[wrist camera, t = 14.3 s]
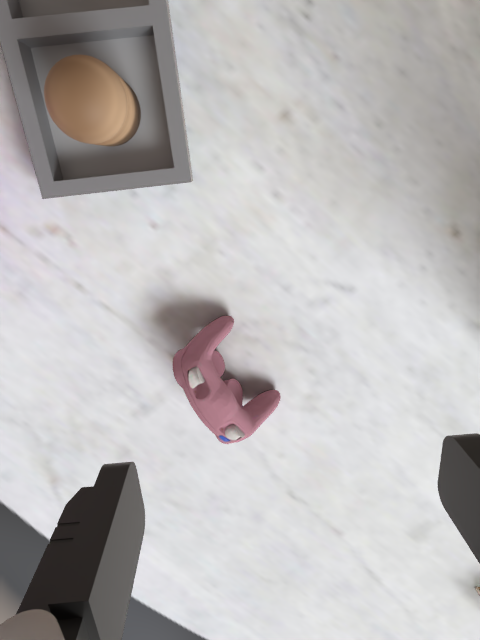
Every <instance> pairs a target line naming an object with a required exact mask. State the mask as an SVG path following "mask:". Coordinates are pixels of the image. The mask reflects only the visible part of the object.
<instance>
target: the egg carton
mask: <svg viewBox="0 0 480 640" xmlns="http://www.w3.org/2000/svg"><path fill="white" fill-rule="evenodd" d="M0 43H1V47H2V51H3V54H4V58H5V62H6V66H7V69H8V73H9V77H10V80H11V84H12V88H13V91H14V95H15V99H16V102H17V106H18V110H19V114H20V117H21V121H22V125H23V128H24V132H25V136H26V139H27V143H28V147H29V150H30V154H31V158H32V162H33V165H34V169H35V173H36V176H37V180H38V184H39V187H40V191H41V195H42V199H46V198H55V197H64V196H72V195H81V194H90V193H99V192H108V191H117V190H125V189H134V188H143V187H152V186H161V185H169V184H178V183H187V182H192V181H193V177H192V170H191V163H190V155H189V148H188V141H187V134H186V126H185V119H184V112H183V105H182V98H181V90H180V83H179V76H178V69H177V62H176V54H175V47H174V40H173V33H172V26H171V18H170V11H169V4H168V0H0ZM71 55H88V56H92V57H94V58H97V59H99V60H101V61H102V62H104V63H105V64H107V65H108V66H109V67H110V68H111V69H112V70H114V71H115V72H116V73H117V74H118V75H119V76H120V77H121V78H122V79H123V80H124V81H125V82H126V83H127V84H128V85H129V86H130V87H131V88H132V89H133V91H134V92H135V94H136V96H137V98H138V101H139V104H140V108H141V120H140V125H139V128H138V130H137V132H136V134H135V135H134V136H133V137H132V138H131V139H130V140H129V141H128V142H126V143H124V144H122V145H119V146H111V147H110V146H102V145H95V144H87V143H83V142H79V141H77V140H74V139H72V138H71V137H69V136H67V135H66V134H65V133H64V132H62V131H61V130H60V129H59V128H58V127H57V125H56V124H55V123H54V121H53V120H52V118H51V117H50V115H49V112H48V110H47V107H46V104H45V99H44V85H45V80H46V77H47V75H48V73H49V71H50V70H51V68H52V67H53V66H54V65H55V64H56V63H57V62H58V61H59V60H61V59H63V58H65V57H67V56H71Z"/></svg>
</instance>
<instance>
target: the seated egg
mask: <svg viewBox="0 0 480 640" xmlns="http://www.w3.org/2000/svg"><path fill="white" fill-rule="evenodd" d="M44 99H45V104H46V107H47V110H48V112H49V115H50V117H51V118H52V120H53V121H54V123H55V124H56V125H57V127H58V128H59V129H60V130H61V131H62V132H64V133H65V134H66V135H67V136H69V137H71V138H72V139H74V140H77V141H79V142H83V143H87V144H95V145H102V146H110V147H111V146H119V145H122V144H124V143H126V142H128V141H129V140H130V139H131V138H132V137H133V136H134V135H135V134H136V132H137V130H138V128H139V125H140V120H141V108H140V104H139V101H138V98H137V96H136V94H135V92H134V91H133V89H132V88H131V87H130V86H129V85H128V84H127V83H126V82H125V81H124V80H123V79H122V78H121V77H120V76H119V75H118V74H117V73H116V72H115V71H114V70H112V69H111V68H110V67H109V66H108V65H107V64H105V63H104V62H102V61H101V60H99V59H97V58H94V57H92V56H88V55H71V56H67V57H65V58H63V59H61V60H59V61H58V62H57V63H56V64H55V65H54V66H53V67H52V68H51V70H50V71H49V73H48V75H47V77H46V80H45V85H44Z"/></svg>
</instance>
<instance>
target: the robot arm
mask: <svg viewBox="0 0 480 640" xmlns="http://www.w3.org/2000/svg"><path fill="white" fill-rule="evenodd" d="M438 491H439V496H440V499H441V502H442V504H443V506H444V508H445V510H446V512H447V513H448V515H449V516H450V518H451V519H452V521H453V523H454V524H455V526H456V527H457V529H458V530H459V532H460V533H461V535H462V537H463V538H464V540H465V541H466V543H467V544H468V546H469V548H470V549H471V551H472V552H473V554H474V555H475V557H476V559H477V560H478V562H479V563H480V435H479V434H464V435H452V436H446V437H445V439H444V441H443V447H442V454H441V462H440V469H439V477H438ZM57 524H58V526H57V527H56V528H55V530H54V532H53V534H52V537H51V539H50V544H48V546H47V548H46V550H45V552H44V554H43V557H42V559H41V561H40V563H39V565H38V568H37V570H36V572H35V574H34V576H33V579H32V581H31V583H30V585H29V587H28V590H27V592H26V594H25V596H24V599H23V601H22V603H21V605H20V607H19V609H18V611H17V613H16V615H14V616H13V617H11V618H9V619H7V620H6V621H4V622H3V623H2V624H0V640H122V635H123V630H124V626H125V621H126V616H127V611H128V607H129V602H130V597H131V592H132V588H133V583H134V578H135V573H136V569H137V564H138V559H139V554H140V550H141V545H142V540H143V535H144V529H145V509H144V503H143V498H142V494H141V489H140V484H139V479H138V474H137V469H136V466H135V463H134V462H125V463H113V464H104V465H103V466H102V468H101V470H100V472H99V475H98V477H97V480H96V482H95V485H94V487H83V488H81V489H80V490H79V491H78V492H77V493H76V494H75V495H74V497H73V498H72V499H71V500H70V501H69V502H68V503H67V504H66V506H65V508H64V510H63V512H62V515H61V517H60V519H59V521H58V523H57Z"/></svg>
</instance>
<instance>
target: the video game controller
mask: <svg viewBox="0 0 480 640" xmlns="http://www.w3.org/2000/svg"><path fill="white" fill-rule="evenodd" d="M233 324H234V319H233V318H232V317H231V316H222V317H220V318H218V319H216V320H214V321H212V322H211V323H209V324H208V325H207V326H205V327H204V328H203V329H202V330H201V331H200V332H199V333H197V335H196V336H195V337H194V338H193V339H192V340H191V341H190V342H189V343H188V344H187V345H186V347H185V348H184V349H181V350H179V351H178V352H177V353H176V354H175V356H174V358H173V372H174V376H175V379H176V381H177V382H178V384H179V385H180V386H181V387H182V388H183V389H184V392H185V394H186V396H187V398H188V400H189V402H190V404H191V406H192V407H193V409H194V411H195V412H196V414H197V415H198V417H199V418H200V419H201V420H202V422H203V423H204V424H205V425H206V426H207V427H208V428H209V429H210V430H211V431H212V432H213V433H214V434H215V435H216V437H217V439H218V440H219V441H220V442H222V443H224V444H229V443H234V442H239V441H242V440H244V439H246V438H248V437H249V436H251V435H252V434H253V433H254V432H255V431H256V429H257V428H258V427H259V426H260V425H261V424H262V423H263V422H264V421H265V420H266V419H267V417H268V416H269V415H270V414H271V413H272V412H273V411H274V410H275V408H276V407H277V406H278V403H279V401H280V393H279V392H278V391H277V390H269V391H265V392H263V393H261V394H259V395H258V396H256V397H255V398H253V399H252V400H251V401H249V402H248V403H247V404H246V405H244V406H242V397H243V391H242V387H241V385H240V383H239V382H238V381H237V380H236V379H229V380H225V381H223V380H222V379H221V378H220V377H221V376H222V375H223V373H224V371H225V364H224V360H223V358H222V356H221V355H220V353H219V352H217V351H214V350H215V349H216V347H217V346H218V344H219V343H220V342H221V341H222V340H223V339H224V338H225V337H226V336H227V335H228V333H229V332H230V331H231V329H232V327H233Z"/></svg>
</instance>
